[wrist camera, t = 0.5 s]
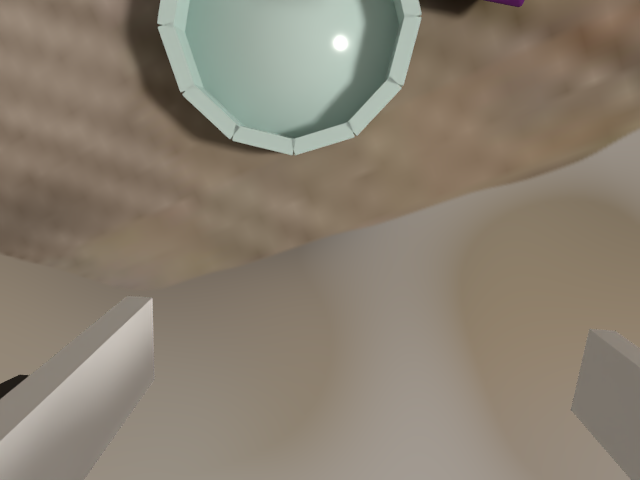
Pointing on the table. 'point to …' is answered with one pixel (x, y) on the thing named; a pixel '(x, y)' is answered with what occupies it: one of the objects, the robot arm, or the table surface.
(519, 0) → the perfume bottle
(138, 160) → the table surface
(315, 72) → the round tray
